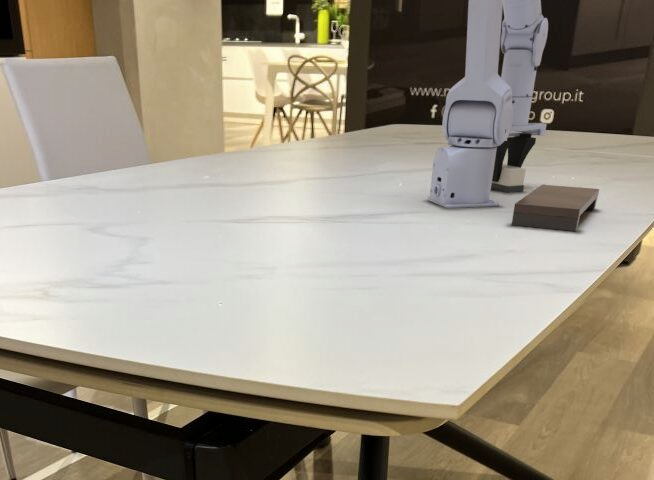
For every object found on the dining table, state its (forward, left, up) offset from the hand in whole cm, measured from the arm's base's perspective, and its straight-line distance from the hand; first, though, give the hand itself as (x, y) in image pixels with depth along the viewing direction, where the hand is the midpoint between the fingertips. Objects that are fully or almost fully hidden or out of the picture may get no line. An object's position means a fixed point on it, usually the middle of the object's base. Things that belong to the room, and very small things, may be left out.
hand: (502, 180), depth 136 cm
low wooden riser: (-5, -26, -1) cm, 26 cm away
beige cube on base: (0, 0, -1) cm, 1 cm away
